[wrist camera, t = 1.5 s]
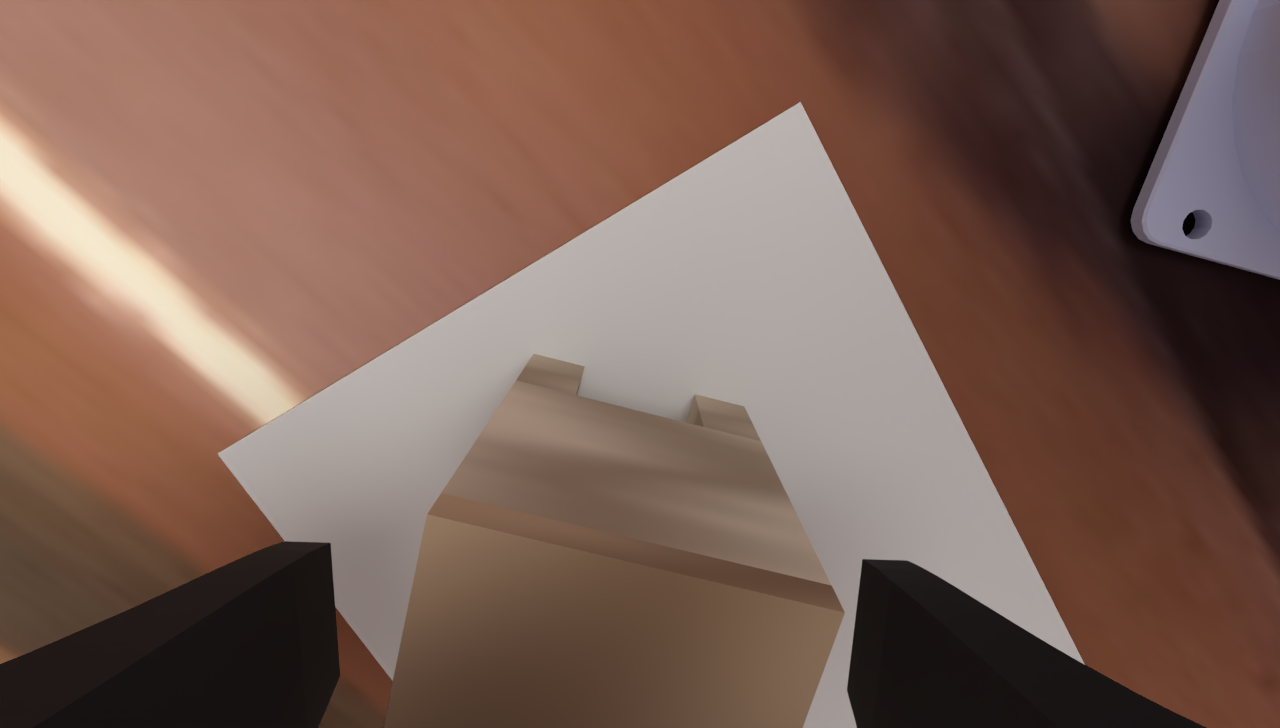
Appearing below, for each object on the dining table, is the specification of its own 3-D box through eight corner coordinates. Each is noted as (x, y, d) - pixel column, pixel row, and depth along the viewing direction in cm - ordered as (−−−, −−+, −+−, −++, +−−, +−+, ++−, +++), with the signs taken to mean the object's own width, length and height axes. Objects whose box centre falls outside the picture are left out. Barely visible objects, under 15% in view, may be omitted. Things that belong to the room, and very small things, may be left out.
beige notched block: (744, 406, 14) (844, 613, 7) (687, 593, 15) (726, 934, 8) (533, 353, 14) (427, 514, 7) (489, 547, 15) (356, 857, 8)
